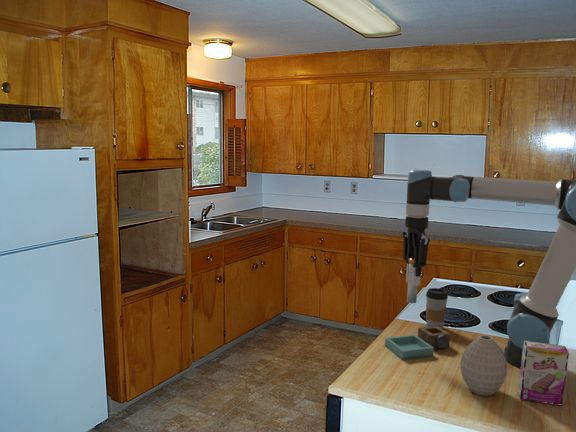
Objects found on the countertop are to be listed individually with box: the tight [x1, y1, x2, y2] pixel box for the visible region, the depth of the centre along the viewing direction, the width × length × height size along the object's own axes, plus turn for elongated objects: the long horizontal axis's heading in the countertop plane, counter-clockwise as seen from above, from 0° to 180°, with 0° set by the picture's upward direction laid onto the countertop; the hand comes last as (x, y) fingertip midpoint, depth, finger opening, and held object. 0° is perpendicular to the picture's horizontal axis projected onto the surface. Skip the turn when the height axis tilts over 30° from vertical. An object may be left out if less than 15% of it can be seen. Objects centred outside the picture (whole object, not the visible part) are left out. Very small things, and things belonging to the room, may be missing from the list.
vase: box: [460, 334, 508, 397], centre depth 150 cm, size 13×13×17 cm
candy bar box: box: [517, 341, 570, 405], centre depth 146 cm, size 11×5×16 cm, turn 74°
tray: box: [384, 334, 435, 361], centre depth 178 cm, size 12×12×3 cm
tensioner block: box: [417, 326, 451, 350], centre depth 184 cm, size 10×8×5 cm
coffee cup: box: [425, 287, 449, 329], centre depth 200 cm, size 8×8×15 cm
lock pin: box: [406, 258, 418, 304], centre depth 175 cm, size 4×4×15 cm
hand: (412, 283), depth 175 cm, fingers closed on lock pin, 3 cm apart
